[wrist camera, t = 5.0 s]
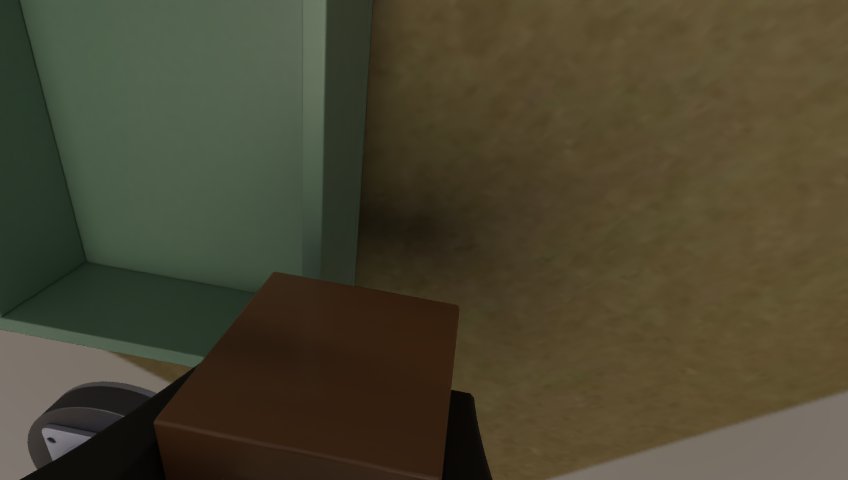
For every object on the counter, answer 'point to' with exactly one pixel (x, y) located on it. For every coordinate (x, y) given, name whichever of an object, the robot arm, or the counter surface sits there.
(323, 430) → the letter block
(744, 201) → the counter surface
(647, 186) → the counter surface
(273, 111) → the tray
